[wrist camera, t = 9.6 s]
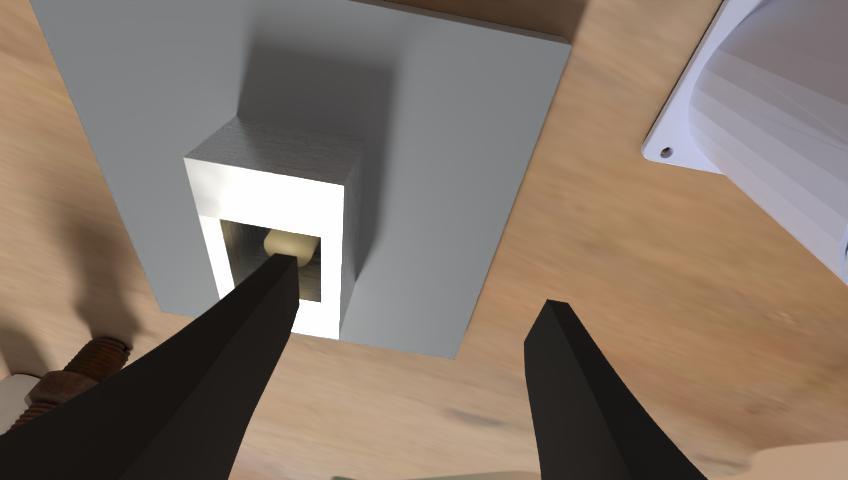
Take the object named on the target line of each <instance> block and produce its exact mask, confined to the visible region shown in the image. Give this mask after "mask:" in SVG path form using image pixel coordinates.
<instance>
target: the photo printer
mask: <svg viewBox="0 0 848 480" xmlns="http://www.w3.org/2000/svg"><path fill="white" fill-rule="evenodd" d="M40 380H41V379H39V378H36V377H33V376H29V375H23V374H15V375H13V376H7V377H6V378H4V379H3V380H2V381H1V382H0V435H2V434H4V433H6V431H7V430H9V429H10V427H11V425H13V424H15V421H16V419H19V416H20V415H21V414H24V411H25V410H26V409H28V406H27V405H26V403H25V401H24V398H25V396H26V395H27V394H28V393H29V392H30V391H31V389H32V388H33V387H34V386H35V385H36V384H37V383H38V382H39V381H40Z"/></svg>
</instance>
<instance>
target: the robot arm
mask: <svg viewBox="0 0 848 480" xmlns="http://www.w3.org/2000/svg"><path fill="white" fill-rule="evenodd" d="M667 147H670V148H669V150H668V151H667V152H666V153H664V154H660V153H661V151H662V150H663V149H665V148H667ZM641 153H642V155H643V156H644V157H645V158H646V159H648V160H650V161H656V162H661V163H666V164H671V165H677V166H682V167H687V168H693V169H698V170H703V171H708V172H714V173H719V174H724V175H726V176H727V177H728V178H729V179H730V180H731V181H732V182H734V183H735V184H736V185H737V186H738V187H739V188H740V189H741V190H742V191H744V192H745V193H746V194H747V195H748V196H749V197H750V198H751V199H752V200H753V201H755V202H756V203H757V204H758V205H759V206H760V207H761V208H762V209H763V210H765V211H766V212H767V213H768V214H769V215H770V216H771V217H772V218H773V219H775V220H776V221H777V222H778V223H779V224H780V225H781V226H782V227H783V228H785V229H786V230H787V231H788V232H789V233H790V234H791V235H792V236H793V237H794V238H796V239H797V240H798V241H799V242H800V243H801V244H802V245H803V246H804V247H806V248H807V249H808V250H809V251H810V252H811V253H812V254H813V255H814V256H816V257H817V258H818V259H819V260H820V261H821V262H822V263H823V264H824V265H826V266H827V267H828V268H829V269H830V270H831V271H832V272H833V273H834V274H835V275H837V276H838V277H839V278H840V279H841V280H842V281H843V282H844V283H845V284H847V285H848V0H724V2H723V4H722V5H721V7H720V9H719V11H718V12H717V14H716V16H715V18H714V19H713V21H712V23H711V25H710V27H709V28H708V30H707V32H706V34H705V35H704V37H703V39H702V41H701V42H700V44H699V46H698V48H697V49H696V51H695V53H694V55H693V57H692V58H691V60H690V62H689V64H688V65H687V67H686V69H685V71H684V72H683V74H682V76H681V78H680V79H679V81H678V83H677V85H676V87H675V88H674V90H673V92H672V94H671V95H670V97H669V99H668V101H667V102H666V104H665V106H664V108H663V110H662V111H661V113H660V115H659V117H658V118H657V120H656V122H655V124H654V125H653V127H652V129H651V131H650V132H649V134H648V136H647V138H646V140H645V141H644V143H643V145H642V147H641ZM299 308H300V291H299V276H298V261H297V256H291V255H285V254H280V253H274V254H273V255H271V256H270V257H269V258H268V259H267V260H266V261H265V262H264V263H262V264H261V265H260V266H259V267H258V268H257V269H256V270H255V271H254V272H252V273H251V274H250V275H249V276H248V277H247V278H246V279H244V280H243V281H242V282H241V283H240V284H239V285H237V286H236V287H235V288H234V289H233V290H232V291H230V292H229V293H228V294H227V295H225V296H224V297H223V298H222V299H221V300H219V301H218V302H217V303H216V304H215V305H213V306H212V307H211V308H210V309H208V310H207V311H206V312H204V313H203V314H202V315H200V316H199V317H198V318H196V319H195V320H194V321H192V322H191V323H190V324H188V325H187V326H186V327H184V328H183V329H182V330H180V331H179V332H178V333H176V334H175V335H173V336H172V337H171V338H169V339H168V340H166V341H165V342H163V343H162V344H160V345H159V346H157V347H156V348H155V349H153V350H151V351H150V352H148V353H147V354H145V355H144V356H142V357H141V358H139V359H138V360H136V361H134V362H133V363H131V364H130V365H128V366H126V367H125V368H123V369H121V370H120V371H118V372H116V373H115V374H113V375H111V376H110V377H108V378H106V379H105V380H103V381H102V382H100V383H98V384H96V385H95V386H93V387H91V388H89V389H88V390H86V391H84V392H82V393H80V394H79V395H77V396H75V397H73V398H71V399H69V400H67V401H66V402H64V403H62V404H60V405H58V406H56V407H54V408H52V409H50V410H49V411H47V412H45V413H43V414H41V415H39V416H37V417H35V418H33V419H31V420H30V421H28V422H26V423H24V424H22V425H20V426H18V427H16V428H14V429H12V430H10V431H8V432H6V433H4V434H2V435H0V480H228V478H229V475H230V472H231V469H232V466H233V463H234V461H235V458H236V455H237V453H238V450H239V447H240V445H241V442H242V439H243V437H244V434H245V431H246V429H247V426H248V424H249V421H250V419H251V417H252V415H253V412H254V410H255V408H256V406H257V404H258V402H259V400H260V397H261V395H262V393H263V391H264V389H265V387H266V385H267V383H268V381H269V379H270V377H271V375H272V373H273V371H274V369H275V366H276V364H277V362H278V360H279V358H280V356H281V354H282V352H283V350H284V348H285V345H286V343H287V341H288V339H289V337H290V334H291V331H292V328H293V325H294V323H295V320H296V317H297V314H298V311H299ZM524 361H525V377H526V383H527V389H528V395H529V401H530V407H531V413H532V419H533V425H534V430H535V436H536V442H537V448H538V454H539V461H540V469H541V480H708V479H707V478H706V477H705V476H704V475H703V474H702V473H701V472H700V471H699V470H698V469H697V468H696V467H695V466H694V465H693V464H692V463H691V462H690V461H689V460H688V459H687V457H686V456H685V455H684V454H683V453H682V452H681V451H680V450H679V449H678V448H677V447H676V445H675V444H674V443H673V442H672V441H671V440H670V439H669V438H668V436H667V435H666V434H665V433H664V432H663V431H662V430H661V428H660V427H659V426H658V425H657V424H656V423H655V422H654V420H653V419H652V418H651V417H650V416H649V414H648V413H647V412H646V411H645V409H644V408H643V407H642V406H641V404H640V403H639V402H638V401H637V399H636V398H635V397H634V396H633V394H632V393H631V392H630V390H629V389H628V388H627V387H626V385H625V384H624V383H623V381H622V380H621V379H620V377H619V376H618V375H617V373H616V372H615V370H614V369H613V368H612V366H611V365H610V363H609V362H608V361H607V359H606V358H605V356H604V355H603V354H602V352H601V351H600V349H599V348H598V346H597V345H596V343H595V342H594V341H593V339H592V338H591V336H590V335H589V333H588V332H587V330H586V329H585V327H584V326H583V324H582V323H581V321H580V320H579V318H578V317H577V315H576V314H575V312H574V311H573V309H572V308H571V307H570V305H569V304H568V303H566V302H560V301H554V300H548V299H547V301H546V302H545V304H544V306H543V308H542V310H541V312H540V313H539V315H538V317H537V319H536V321H535V323H534V324H533V326H532V328H531V330H530V332H529V334H528V335H527V337H526V339H525V341H524Z"/></svg>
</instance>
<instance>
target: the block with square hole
mask: <svg viewBox="0 0 848 480" xmlns="http://www.w3.org/2000/svg"><path fill="white" fill-rule="evenodd" d="M365 140H366V139H362V138H357V137H351V136H346V135H341V134H335V133H330V132H324V131H319V130H314V129H308V128H303V127H298V126H292V125H287V124H281V123H276V122H271V121H265V120H260V119H255V118H249V117H244V116H238V115H236V116H235V117H233V118H232V119H231V120H230V121H228V122H227V123H226V124H225V125H223V126H222V127H221V128H219V129H218V130H217V131H216V132H214V133H213V134H212V135H211V136H209V137H208V138H207V139H206V140H204V141H203V142H202V143H201V144H199V145H198V146H197V147H196V148H194V149H193V150H192V151H191V152H189V153H188V154H187V155H186V156H184V157H183V159H184V162H185V166H186V170H187V174H188V178H189V181H190V185H191V189H192V193H193V197H194V200H195V204H196V208H197V212H198V216H199V220H200V223H201V227H202V231H203V235H204V239H205V242H206V246H207V250H208V254H209V258H210V261H211V265H212V269H213V273H214V277H215V280H216V284H217V288H218V292H219V296H220V299H222V298H223V297H224V296H225V295H227V294H228V293H229V292H230V291H232V290H233V289H234V288H235V287H236V286H237V285H239V284H240V283H241V282H242V281H243V280H244V279H246V278H247V277H248V276H249V275H250V274H251V273H252V272H254V271H255V270H256V269H257V268H258V267H259V266H260V265H261V264H262V263H264V262H265V261H266V260H267V259H268V258H269V257H270V256H269V255H268V254H267V252H266V250H265V248H264V241H265V238H266V237H267V235H268V234H269V229H268V227H269V228H274V229H280V230H286V231H292V232H297V233H303V234H309V235H315V236H320V237H321V241H322V244H317V246H316V249H315V251H314V253H313V255H312V257H311V259H310V261H309V262H308V263H307V264H306V265H304V266H301V267H298V276H299V291H300V308H299V311H298V314H297V317H296V320H295V323H294V325H293V328H292V332H298V333H304V334H311V335H317V336H323V337H329V338H335V339H339V335H340V332H341V329H342V326H343V322H344V319H345V316H346V312H347V309H348V306H349V303H350V299H351V296H352V293H353V289H354V286H355V283H356V270H357V255H358V241H359V227H360V212H361V198H362V184H363V169H364V155H365Z"/></svg>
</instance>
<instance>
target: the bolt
mask: <svg viewBox="0 0 848 480" xmlns="http://www.w3.org/2000/svg"><path fill="white" fill-rule="evenodd" d="M124 348H125V347H124V345H123V343H121V342H119V341H117V340H114V339H102V338H101V339H94V340H91V341H89V342H88V344H86V345H85V346H84V347H83V348H82V349H81V350H80V351H79V352H78V354H77V355H76V356H75V357H74V358H73V359H72V360H71V362H69V363H68V365H67V366H65V368H64V370H62V371H61V370H60V371H51V372H48V373H47V374H46V375H45V376H44V377H43V378H42V379H41V380H40V381H39V382H38V383H37V384H36V385H35V386H34V387H33V388H32V389H31V391H30V392H29V393H28V394H27V395H26V396H25V398H24V401H25V403H26V405H27V406H28V409H26V410H25V411H24V414H21V415H20V416H19V419H16V421H15V424H13V425H11V427H10V429H9V430H7V431H6V432H8V431H10V430H12V429H14V428H16V427H18V426H20V425H22V424H24V423H26V422H28V421H30V420H31V419H33V418H35V417H37V416H39V415H41V414H43V413H45V412H47V411H49V410H50V409H52V408H54V407H56V406H58V405H60V404H62V403H64V402H66V401H67V400H69V399H71V398H73V397H75V396H77V395H79V394H80V393H82V392H84V391H86V390H88V389H89V388H91V387H93V386H95V385H96V384H98V383H100V382H102V381H103V380H105V379H106V378H108V377H110V376H111V375H113V374H115V373H116V372H118V371H120V370H121V369H122V368H123V366H124V365H125V363H126V361H128V356H129V355H130V352H129V349H126V350H123V349H124Z"/></svg>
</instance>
